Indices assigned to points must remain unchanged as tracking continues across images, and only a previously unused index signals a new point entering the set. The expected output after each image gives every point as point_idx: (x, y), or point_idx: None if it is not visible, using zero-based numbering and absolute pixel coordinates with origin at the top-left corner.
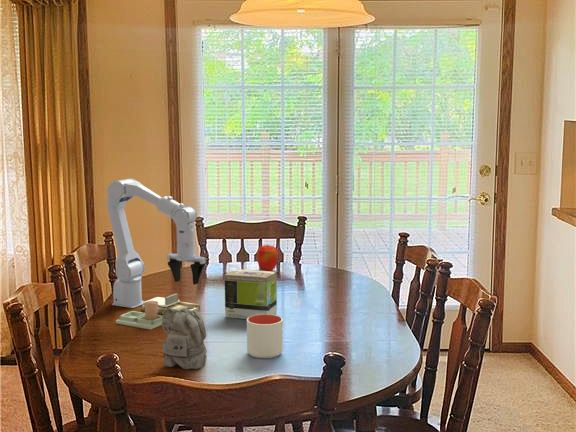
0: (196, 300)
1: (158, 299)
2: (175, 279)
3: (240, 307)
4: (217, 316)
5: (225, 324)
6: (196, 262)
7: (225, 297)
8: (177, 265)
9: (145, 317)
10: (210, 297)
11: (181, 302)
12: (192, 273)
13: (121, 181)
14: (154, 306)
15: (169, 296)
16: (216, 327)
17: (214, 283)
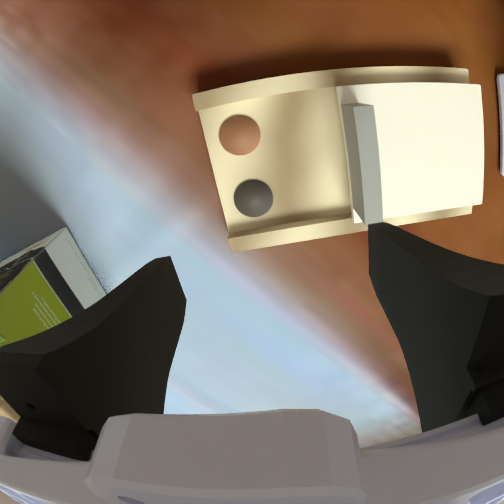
0: (353, 322)
1: (455, 167)
2: (381, 228)
3: (2, 267)
4: (96, 215)
5: (9, 166)
6: (44, 441)
7: (17, 271)
8: (435, 365)
9: None
10: (330, 370)
11: (343, 221)
12: (116, 307)
13: None
14: None
15: (367, 142)
16: (3, 118)
17: (403, 433)
